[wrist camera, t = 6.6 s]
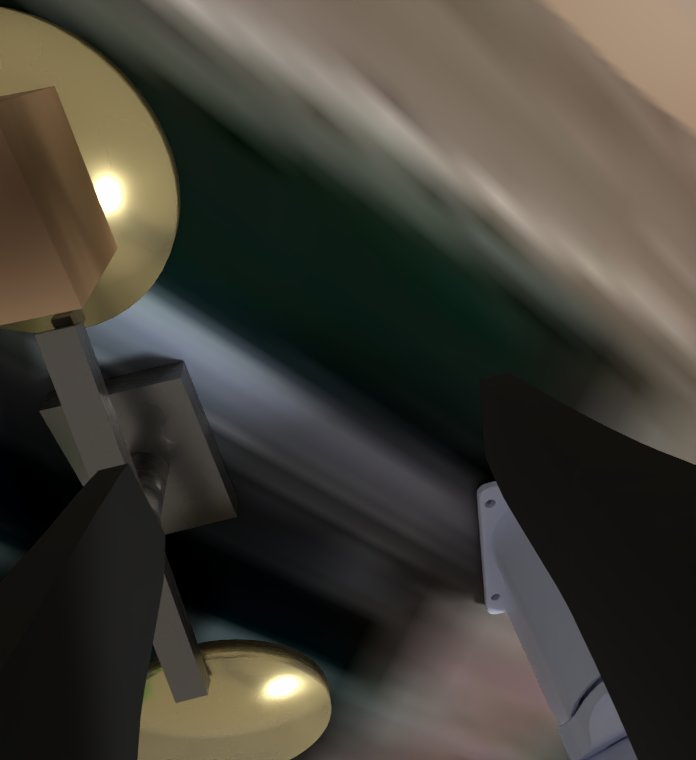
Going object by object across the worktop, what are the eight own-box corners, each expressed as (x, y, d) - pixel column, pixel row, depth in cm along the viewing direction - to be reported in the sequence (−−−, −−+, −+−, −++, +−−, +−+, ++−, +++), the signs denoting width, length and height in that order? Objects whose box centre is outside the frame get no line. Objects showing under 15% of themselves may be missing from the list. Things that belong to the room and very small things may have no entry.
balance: (332, 639, 31) (351, 772, 25) (169, 680, 31) (152, 823, 25) (113, -29, 15) (34, -65, 9) (-236, 43, 14) (-533, 51, 9)
